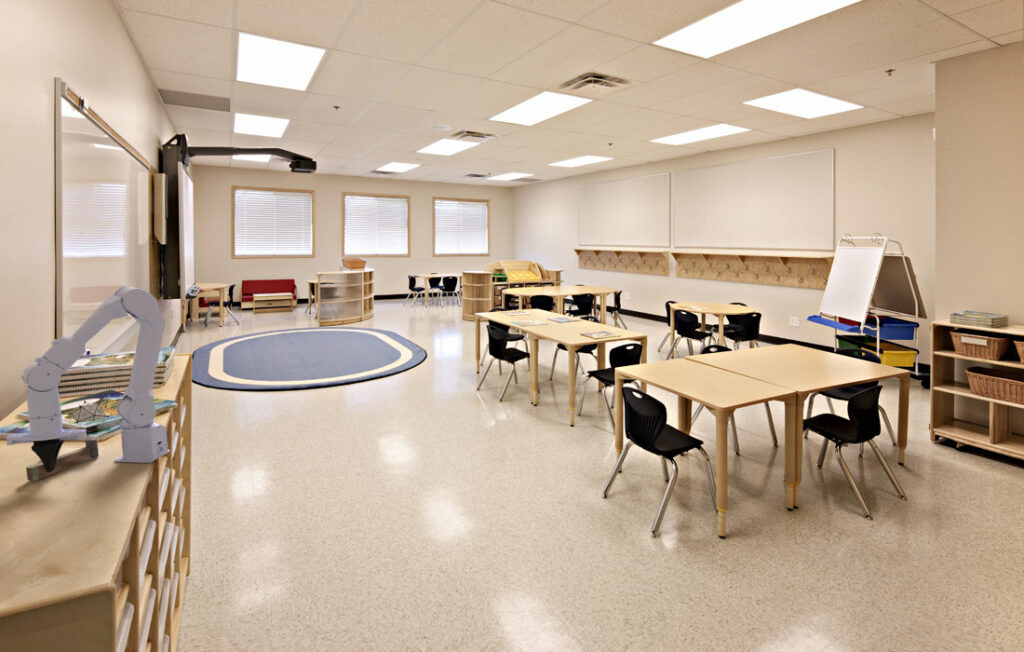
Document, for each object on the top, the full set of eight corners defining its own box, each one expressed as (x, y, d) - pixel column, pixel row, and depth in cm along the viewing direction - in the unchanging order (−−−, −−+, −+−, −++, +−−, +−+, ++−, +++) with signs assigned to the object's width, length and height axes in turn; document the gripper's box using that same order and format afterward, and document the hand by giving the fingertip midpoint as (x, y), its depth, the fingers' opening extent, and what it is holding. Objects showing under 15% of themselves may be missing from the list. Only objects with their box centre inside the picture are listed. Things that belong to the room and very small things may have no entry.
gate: (93, 455, 141) (92, 437, 140) (101, 456, 140) (99, 438, 140) (26, 480, 125) (24, 461, 125) (34, 481, 125) (32, 462, 124)
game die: (86, 439, 163) (76, 409, 165) (117, 426, 166) (107, 397, 168) (69, 434, 155) (59, 403, 157) (102, 420, 158) (92, 390, 160)
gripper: (89, 407, 132) (94, 461, 134) (15, 412, 127) (21, 467, 129) (77, 416, 125) (82, 472, 127) (-2, 421, 120) (5, 479, 122)
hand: (50, 470), depth 127 cm, fingers closed
